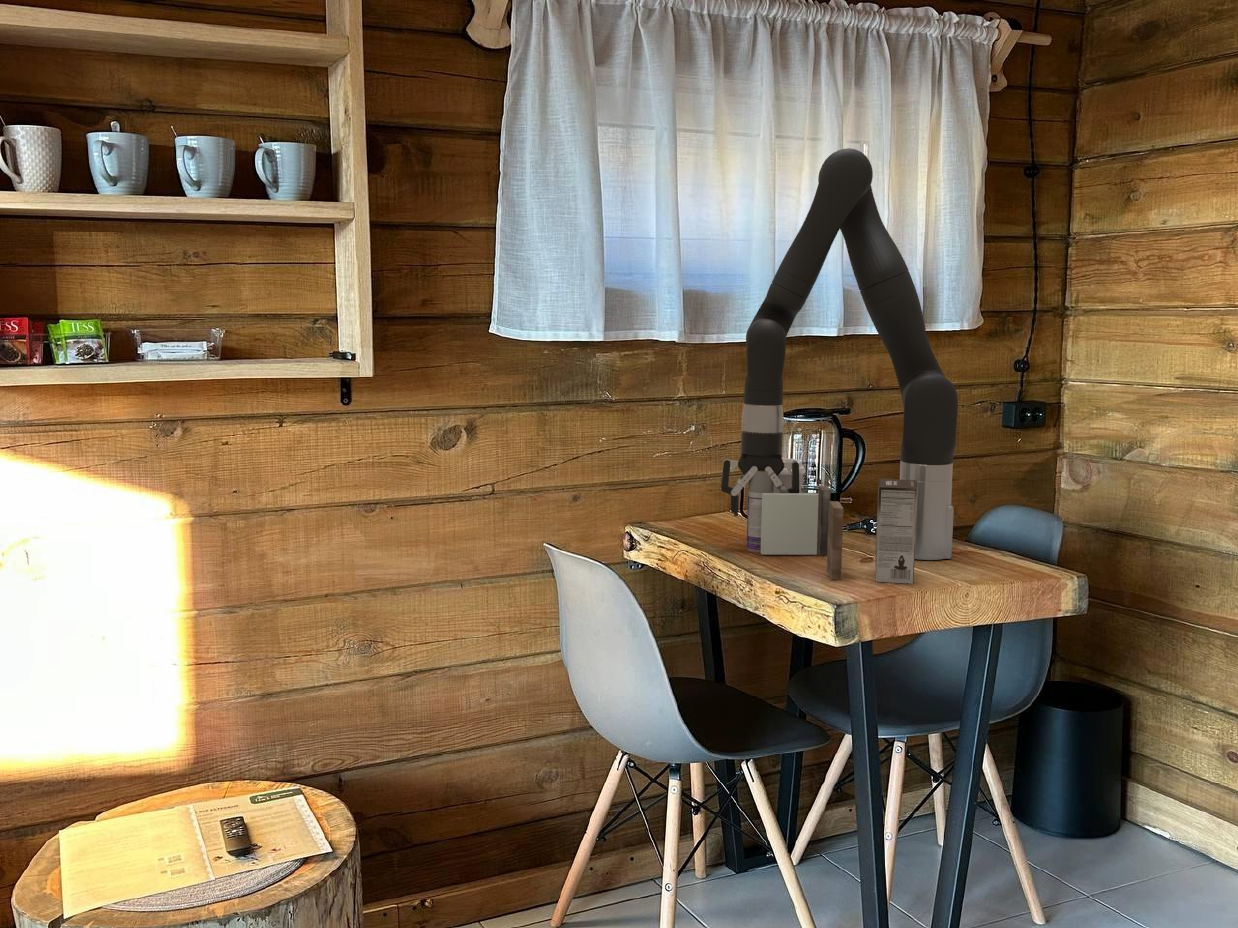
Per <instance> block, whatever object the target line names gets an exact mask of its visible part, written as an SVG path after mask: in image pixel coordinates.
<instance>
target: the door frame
mask: <svg viewBox="0 0 1238 928" xmlns="http://www.w3.org/2000/svg"><path fill="white" fill-rule="evenodd" d="M831 493H832V492H831V489H830V487H829V486H828V485H819V486H818V524H817V553H818V555H819V556H821V557H826V572H827V574H828V576H829V578H830V580H838V581H839V580H842V558H843V556H842V555H843V531H844V507H843V506H842V504H841V503H840V502H839V501H837V500H836V501H835V500H834V501H833V500H831V495H832V494H831Z"/></svg>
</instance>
